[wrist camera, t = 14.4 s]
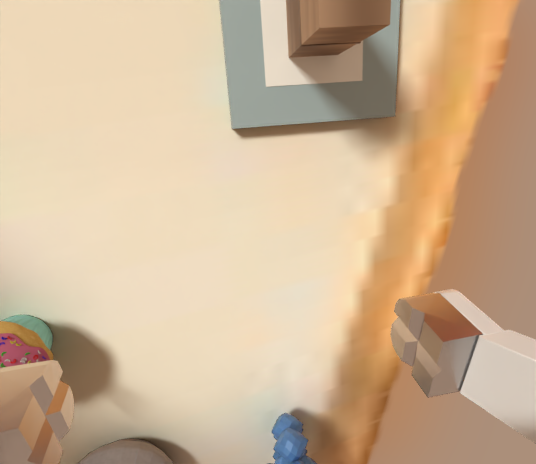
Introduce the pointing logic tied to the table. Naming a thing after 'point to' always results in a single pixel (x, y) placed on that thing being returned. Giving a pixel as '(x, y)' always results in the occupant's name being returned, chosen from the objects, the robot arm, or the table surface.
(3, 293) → the table surface
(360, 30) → the walnut block
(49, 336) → the cupcake
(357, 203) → the table surface
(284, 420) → the grapes
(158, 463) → the coffee pot
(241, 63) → the plate
